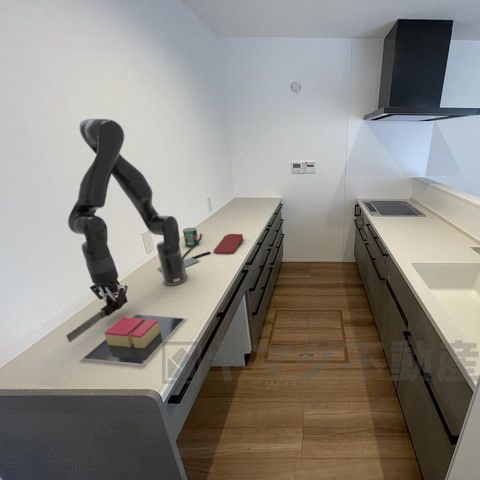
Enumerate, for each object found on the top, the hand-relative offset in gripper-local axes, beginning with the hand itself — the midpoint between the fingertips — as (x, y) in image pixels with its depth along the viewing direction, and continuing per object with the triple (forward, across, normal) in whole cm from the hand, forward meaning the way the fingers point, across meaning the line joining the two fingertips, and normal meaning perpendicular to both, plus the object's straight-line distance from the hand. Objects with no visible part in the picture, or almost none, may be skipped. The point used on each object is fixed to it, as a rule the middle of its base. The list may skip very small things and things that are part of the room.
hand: (115, 307), depth 100 cm
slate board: (+5, -16, +9) cm, 19 cm away
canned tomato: (+6, +13, -74) cm, 75 cm away
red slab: (+6, -12, -76) cm, 77 cm away
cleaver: (+6, +1, -50) cm, 50 cm away
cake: (+4, -13, +10) cm, 17 cm away
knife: (0, 0, +7) cm, 7 cm away
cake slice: (+4, -20, +10) cm, 23 cm away
